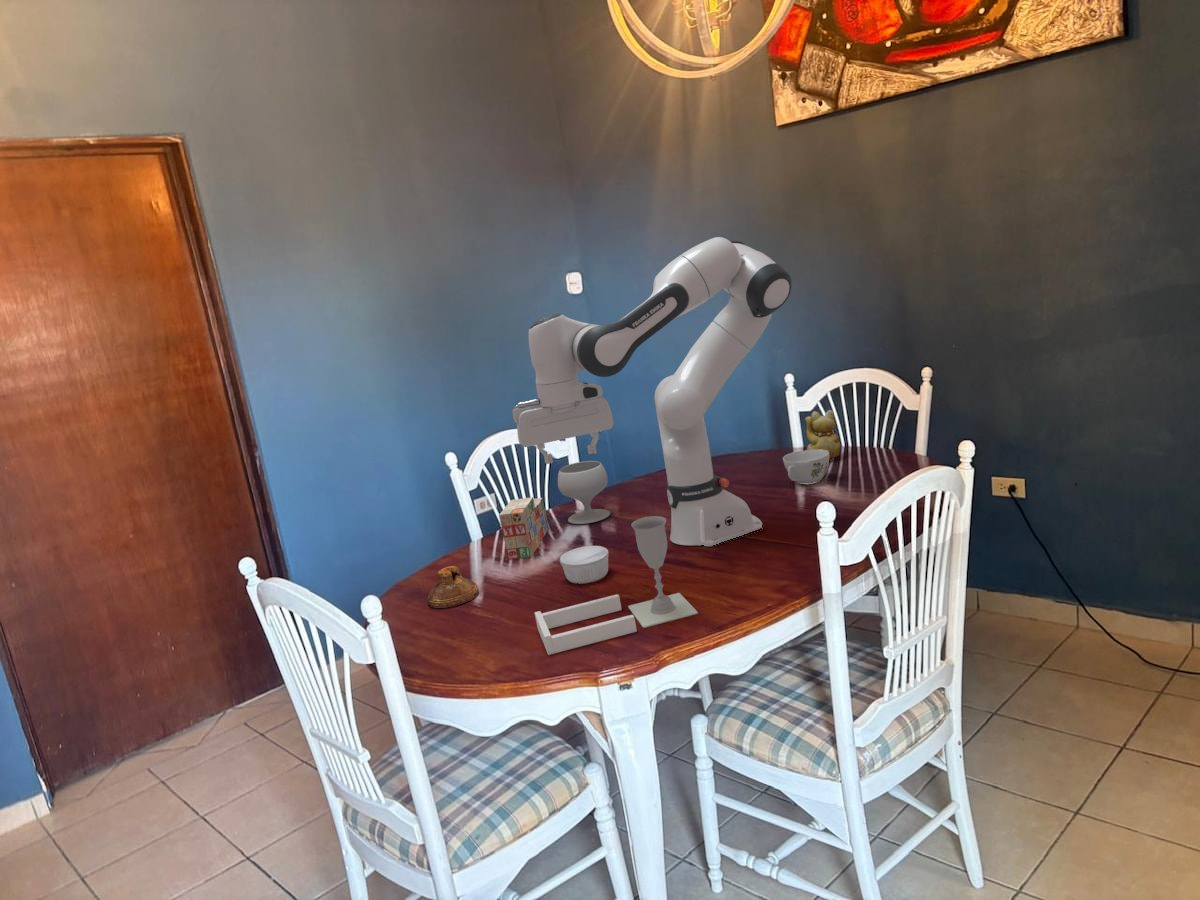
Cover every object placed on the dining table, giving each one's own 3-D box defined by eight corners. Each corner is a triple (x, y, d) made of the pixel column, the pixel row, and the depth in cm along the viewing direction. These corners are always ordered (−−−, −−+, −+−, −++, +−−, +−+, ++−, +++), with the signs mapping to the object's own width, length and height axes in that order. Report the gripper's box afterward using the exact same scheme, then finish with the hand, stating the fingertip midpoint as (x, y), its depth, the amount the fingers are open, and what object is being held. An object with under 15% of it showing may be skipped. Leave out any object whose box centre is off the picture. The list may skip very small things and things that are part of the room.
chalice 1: (596, 506, 238) (588, 457, 235) (623, 514, 226) (614, 462, 223) (555, 521, 231) (546, 470, 228) (581, 529, 219) (571, 476, 216)
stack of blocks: (527, 531, 226) (519, 489, 224) (549, 529, 225) (541, 486, 223) (507, 560, 206) (498, 514, 203) (531, 557, 205) (522, 511, 202)
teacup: (803, 474, 235) (800, 447, 233) (841, 477, 225) (838, 449, 224) (771, 489, 226) (768, 461, 224) (809, 493, 216) (806, 464, 215)
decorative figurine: (839, 454, 248) (834, 406, 245) (844, 461, 240) (839, 411, 237) (807, 459, 249) (801, 411, 246) (811, 466, 241) (805, 416, 238)
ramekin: (602, 585, 179) (598, 563, 177) (556, 586, 183) (551, 564, 182) (618, 566, 189) (614, 544, 188) (574, 567, 193) (570, 546, 192)
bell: (451, 586, 194) (444, 558, 193) (489, 590, 188) (483, 560, 186) (416, 607, 185) (409, 577, 183) (456, 612, 178) (449, 581, 177)
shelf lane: (620, 607, 165) (617, 591, 164) (636, 631, 153) (633, 613, 152) (537, 629, 162) (534, 612, 161) (548, 655, 150) (544, 637, 149)
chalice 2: (643, 605, 164) (628, 520, 160) (676, 598, 164) (662, 513, 160) (649, 619, 157) (634, 531, 153) (683, 612, 157) (669, 524, 153)
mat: (679, 594, 167) (679, 592, 167) (698, 613, 156) (697, 612, 156) (628, 607, 165) (627, 605, 165) (643, 628, 154) (643, 626, 154)
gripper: (512, 406, 165) (525, 471, 168) (609, 386, 169) (620, 450, 172) (508, 402, 171) (520, 465, 174) (602, 383, 175) (612, 445, 178)
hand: (571, 458), depth 173 cm, fingers open, 8 cm apart
